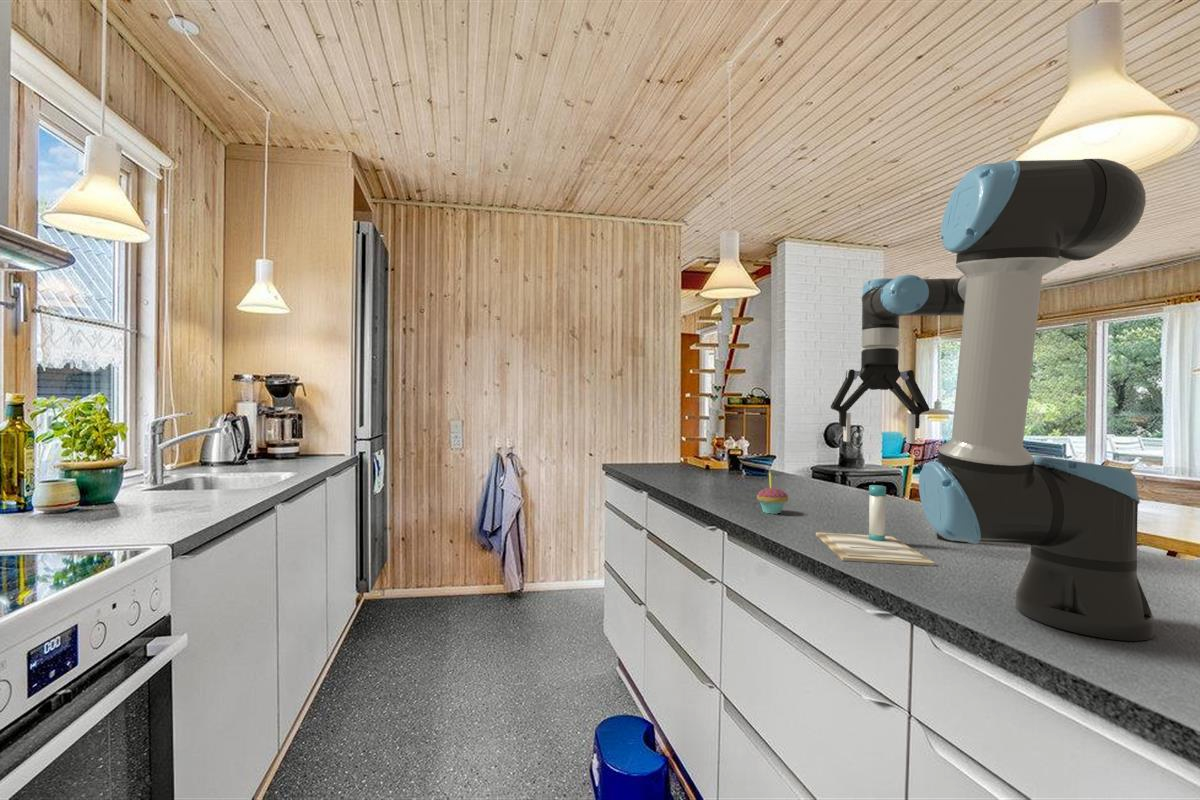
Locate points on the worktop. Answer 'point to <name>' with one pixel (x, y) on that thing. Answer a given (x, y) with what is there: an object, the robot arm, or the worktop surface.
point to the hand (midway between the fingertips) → (878, 442)
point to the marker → (877, 512)
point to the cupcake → (772, 498)
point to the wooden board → (872, 549)
